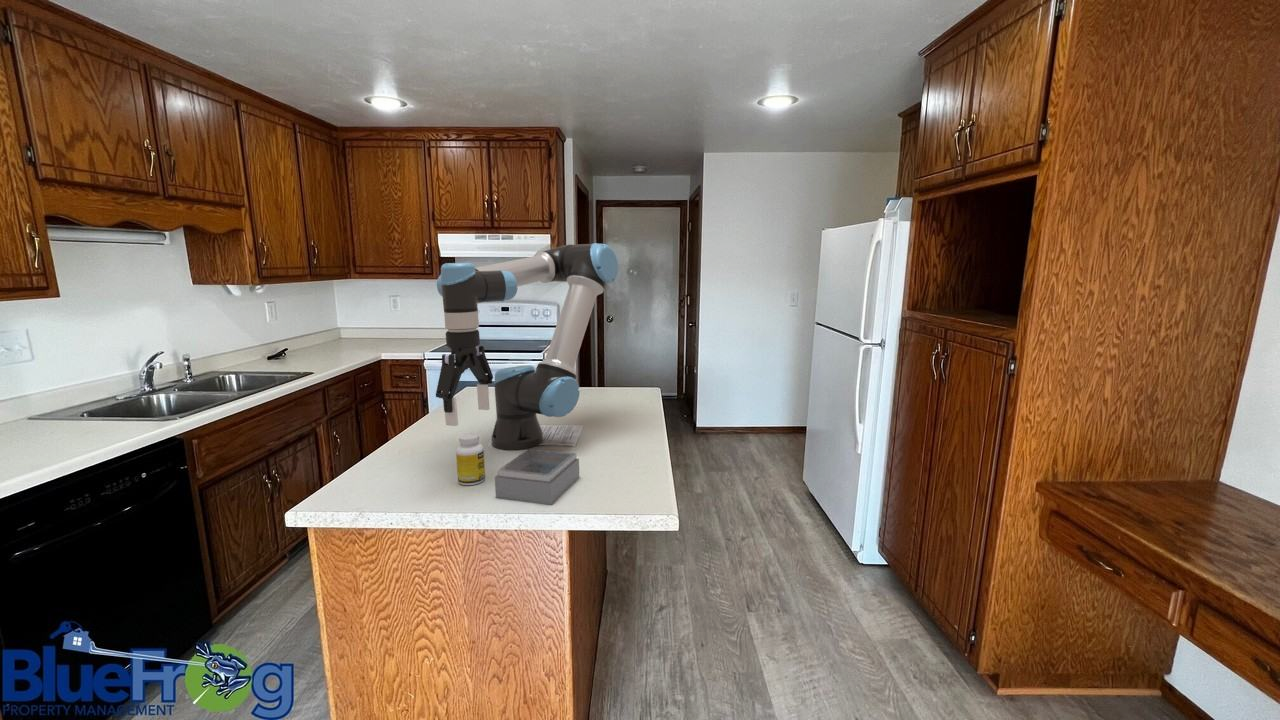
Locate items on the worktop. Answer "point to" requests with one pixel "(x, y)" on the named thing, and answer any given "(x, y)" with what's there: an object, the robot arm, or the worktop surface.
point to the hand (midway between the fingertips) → (468, 417)
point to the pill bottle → (470, 460)
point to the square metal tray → (537, 476)
